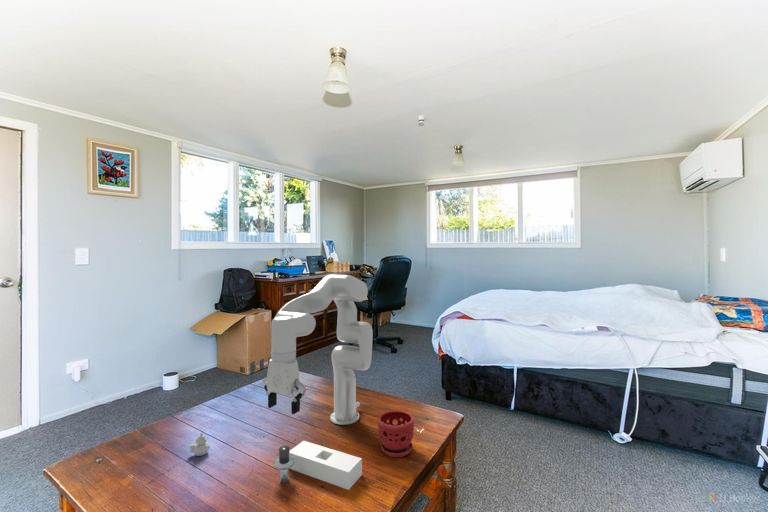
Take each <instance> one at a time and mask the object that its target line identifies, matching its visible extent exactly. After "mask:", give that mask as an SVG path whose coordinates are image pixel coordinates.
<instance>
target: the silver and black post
mask: <svg viewBox="0 0 768 512" xmlns="http://www.w3.org/2000/svg"><path fill="white" fill-rule="evenodd" d="M289 451H290V446H289V445H281V446H280V447H279V449H278V457H277V458H275V460H274V462H273V463H274V464H273V465H274V468H275V469H276V470H279V482H280V483H287V482H288V481H289V480H290V477H289V476H290V473H289V472H290V469H289V468H290V467H292V466H293V464H294V458H293V457H292V456H289Z"/></svg>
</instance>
